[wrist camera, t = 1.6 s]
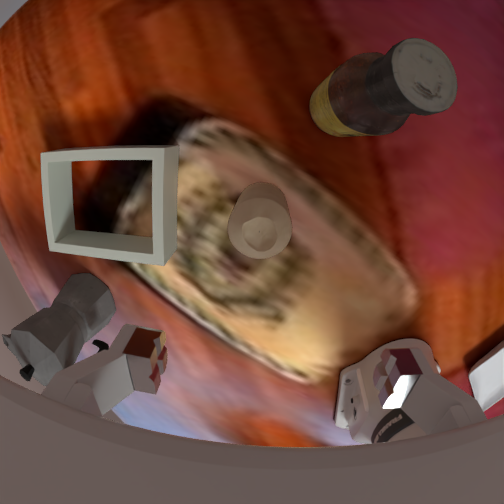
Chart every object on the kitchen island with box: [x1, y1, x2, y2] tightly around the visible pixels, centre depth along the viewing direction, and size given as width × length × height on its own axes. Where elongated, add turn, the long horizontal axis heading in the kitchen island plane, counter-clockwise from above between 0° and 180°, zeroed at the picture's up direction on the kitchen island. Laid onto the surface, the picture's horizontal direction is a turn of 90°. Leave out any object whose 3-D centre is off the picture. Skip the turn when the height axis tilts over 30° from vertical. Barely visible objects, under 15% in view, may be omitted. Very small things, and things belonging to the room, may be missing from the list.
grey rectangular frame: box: [41, 145, 179, 266], centre depth 32 cm, size 12×16×5 cm
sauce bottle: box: [309, 38, 457, 137], centre depth 20 cm, size 6×6×20 cm
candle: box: [228, 182, 292, 259], centre depth 29 cm, size 6×6×10 cm
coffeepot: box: [2, 273, 116, 386], centre depth 32 cm, size 15×9×18 cm, turn 74°
